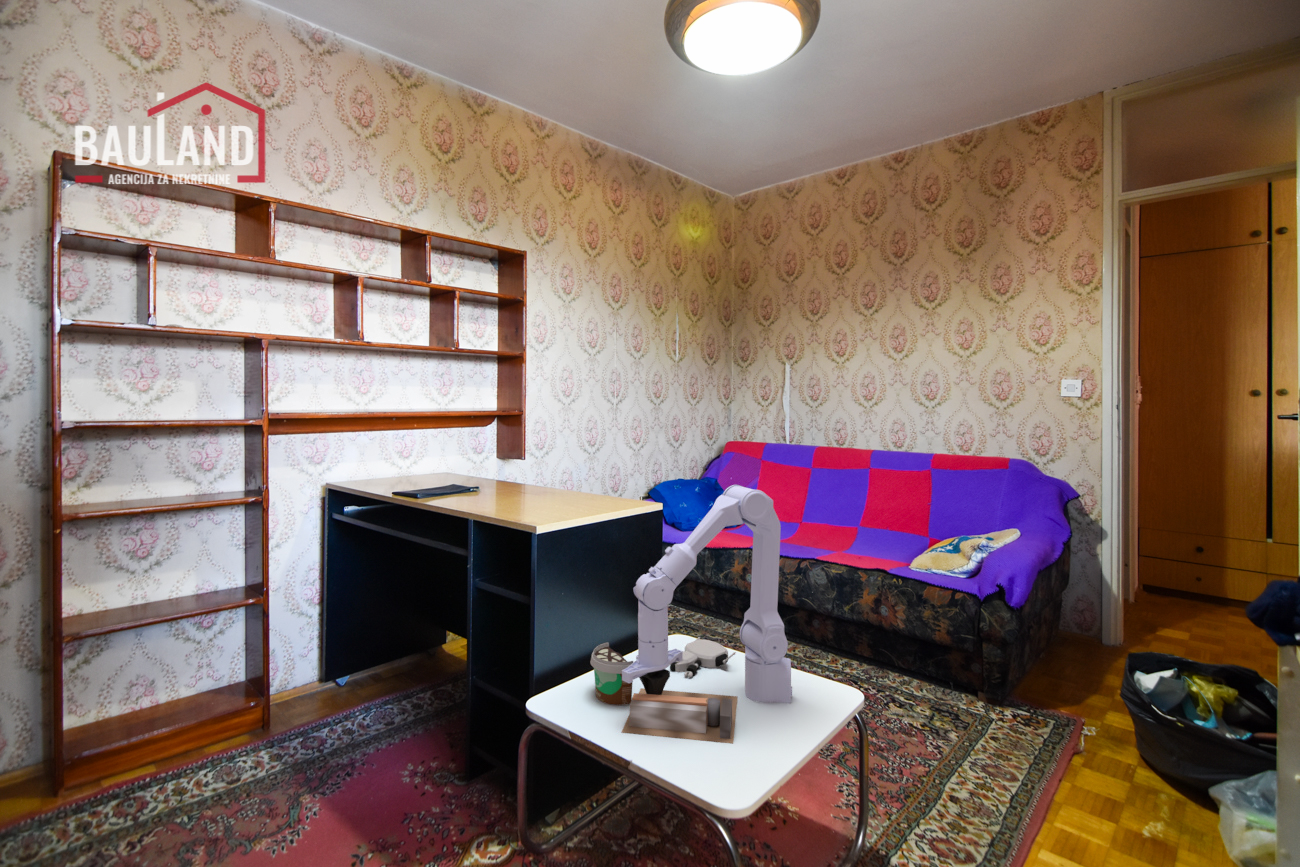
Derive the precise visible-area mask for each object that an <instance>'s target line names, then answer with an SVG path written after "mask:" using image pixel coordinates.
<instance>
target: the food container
mask: <svg viewBox="0 0 1300 867" xmlns="http://www.w3.org/2000/svg"><path fill="white" fill-rule="evenodd" d="M589 662H590V665H591V666H592V668H593V672H594V684H595V686H594V688H595V696H596V699H597V700H599V701H600V702H601V703H604V704H607V705H614V706H622V705H625V706H626V705H630V703H631V700H632V697H633V695H632V694H633V682H632V683H627V682H625V681H623V680H622V670H624V669H626V668H627V667H629V666H630V665H631V664H632V663H634V660H630V661H629V660H626V658H624V656H623V655H622V654H621V653H619V652H618V651H617V652H616V651H614V649H612V648H611V647H610V643H609V642H604V643H601V644H598V645H597V646H596V647H595V648H594V649H593V651H592V653H591V657H590V661H589Z"/></svg>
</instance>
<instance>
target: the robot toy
mask: <svg viewBox="0 0 1300 867" xmlns="http://www.w3.org/2000/svg"><path fill="white" fill-rule="evenodd" d="M736 653H737V652H736V651H733V652H732V654H730V655H729V650H728V649H727V648H726V647H724V646H723V645H722V644H720V643H718V642H716V641H713V640H709V639H701V636H698V637H697V638H696V639H695V640H694V641H691V642H689V643H687V644H686V645H685V646H684V651H683V660H682V661H680V662H678V661H676V662H673V663H671V664H670V665H669V670H670V671H671V672H674V673H675V672H676V673H683V672H684V677H686V678H687V677H688V678H692V677H695V675H696V674H697V672H698V669H699V668H701V667H703V668H708V669H718V668H720V667H721V666H724V665H725V664H727V663H728V661H729V659H731V657H733V656H734V655H736Z"/></svg>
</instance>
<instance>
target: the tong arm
mask: <svg viewBox="0 0 1300 867" xmlns="http://www.w3.org/2000/svg"><path fill="white" fill-rule="evenodd" d="M632 694H633V695H632V700H640V701H651V702H662V703H674V704H685V705H696V706H707V725H710V726H718V725H719V724H720V700H719V699H716V698H709V699H708V698H696V697H681V696H667V695H653V694H639V692H638V693H636V692H635V693H632Z"/></svg>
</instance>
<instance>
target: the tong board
mask: <svg viewBox="0 0 1300 867" xmlns="http://www.w3.org/2000/svg"><path fill="white" fill-rule="evenodd" d="M638 693H639V694H646V691H645V688H644V687H643V688H640V689H639V692H638ZM662 695H667V696H681V697H696V698H708V699H709V698H716V699H719V700H720V724H719V725H718V726H710V725H707V706H696V705H685V704H674V703H662V702H651V701H640V700H631V703H630V704H628V705H629V708H628V709H629V710H628V711H629V715H628V717H627V719H626V721H625V722H624V725H623V727H622V730H621V732H620V733H622V734H630V735H640V736H641V735H642V736H649V737H651V736H652V737H660V738H661V737H662V738H670V739H681V740H690V741H691V740H692V741H700V742H701V741H703V742H713V743H719V744H720V743H721V744H731V745H733V744H734V738H735V729H736V728H735V727H736V719H737V718H736V716H737V710H738V709H737V708H738V707H737V705H738V698H739V697H738V696H737V695H736V696H734V695H723V694H715V693H714V694H713V693H712V694H710V693H703V692H702V693H701V692H690V691H689V692H688V691H687V692H686V691H677V690H676V691H675V690H666V689H665V690H664V689H663V692H662Z"/></svg>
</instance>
